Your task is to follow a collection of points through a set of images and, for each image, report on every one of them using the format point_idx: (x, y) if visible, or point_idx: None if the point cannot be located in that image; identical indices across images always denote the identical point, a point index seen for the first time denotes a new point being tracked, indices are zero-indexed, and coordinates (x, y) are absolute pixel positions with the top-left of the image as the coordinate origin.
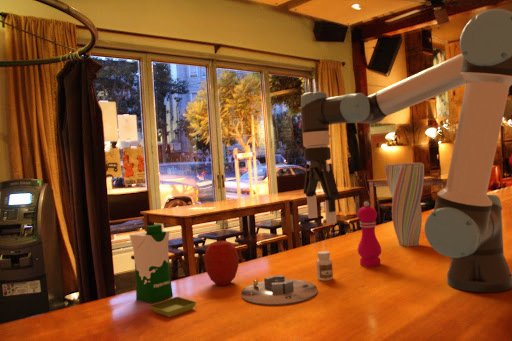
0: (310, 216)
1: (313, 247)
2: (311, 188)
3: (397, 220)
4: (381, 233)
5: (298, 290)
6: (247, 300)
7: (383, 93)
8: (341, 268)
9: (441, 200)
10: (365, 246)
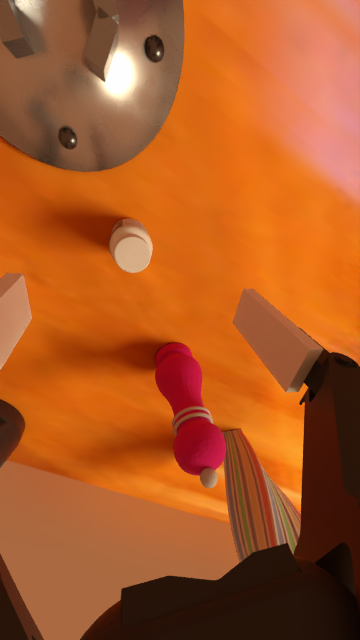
0: (245, 298)
1: (343, 331)
2: (322, 415)
3: (252, 467)
4: None
5: (22, 83)
6: None
7: None
8: (182, 305)
9: None
10: (169, 373)
